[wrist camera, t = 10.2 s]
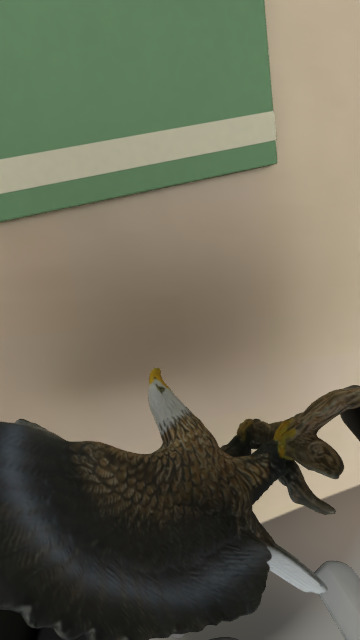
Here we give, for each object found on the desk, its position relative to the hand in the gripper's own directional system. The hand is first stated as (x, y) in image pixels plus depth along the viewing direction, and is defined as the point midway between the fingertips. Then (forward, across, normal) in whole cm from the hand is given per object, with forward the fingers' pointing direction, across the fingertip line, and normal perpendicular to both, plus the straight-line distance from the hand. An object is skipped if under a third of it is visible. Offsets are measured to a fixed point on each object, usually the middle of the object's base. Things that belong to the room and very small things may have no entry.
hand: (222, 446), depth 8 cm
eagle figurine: (+3, +2, +1) cm, 4 cm away
